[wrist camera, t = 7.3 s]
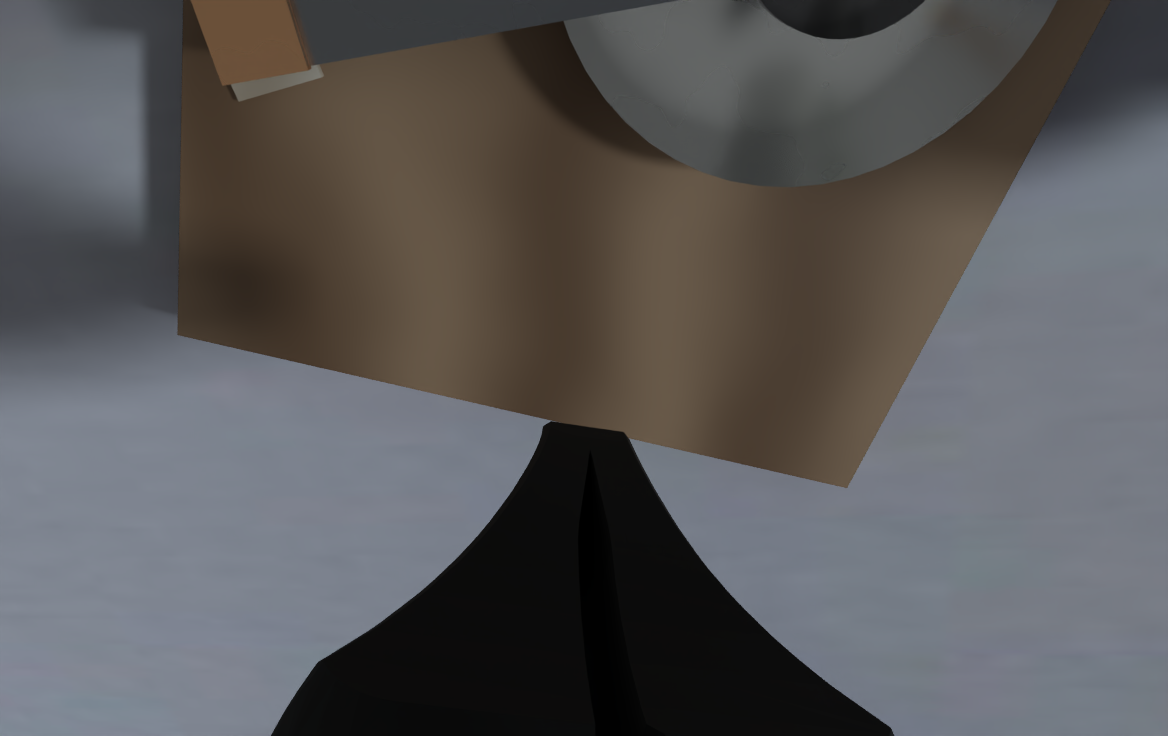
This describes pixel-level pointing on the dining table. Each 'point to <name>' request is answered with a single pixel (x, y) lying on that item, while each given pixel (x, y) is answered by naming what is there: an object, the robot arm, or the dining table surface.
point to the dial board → (580, 245)
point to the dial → (697, 66)
